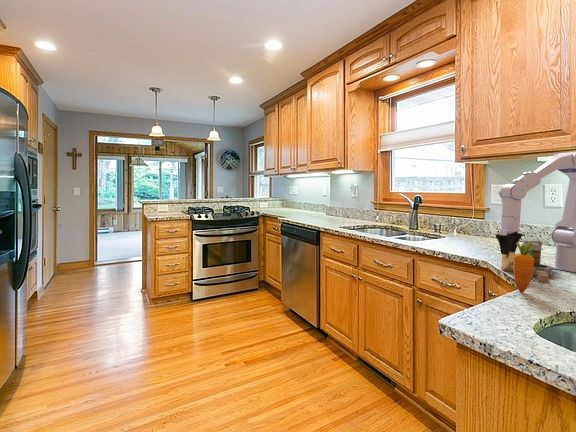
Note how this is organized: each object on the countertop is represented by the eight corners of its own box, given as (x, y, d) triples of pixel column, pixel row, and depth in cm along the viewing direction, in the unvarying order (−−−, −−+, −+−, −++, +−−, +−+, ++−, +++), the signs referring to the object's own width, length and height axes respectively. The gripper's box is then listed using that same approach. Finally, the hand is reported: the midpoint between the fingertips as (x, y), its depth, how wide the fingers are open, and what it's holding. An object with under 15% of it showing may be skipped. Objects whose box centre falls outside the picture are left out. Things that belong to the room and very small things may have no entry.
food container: (520, 264, 132) (522, 239, 132) (540, 266, 129) (541, 241, 128) (518, 269, 123) (520, 243, 122) (538, 272, 119) (540, 245, 118)
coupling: (516, 267, 126) (516, 259, 126) (566, 277, 113) (567, 268, 112) (495, 272, 119) (495, 264, 118) (546, 283, 105) (546, 274, 105)
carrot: (507, 289, 98) (510, 240, 96) (524, 290, 98) (527, 240, 96) (518, 295, 93) (521, 243, 92) (536, 295, 93) (540, 243, 91)
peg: (504, 268, 124) (505, 250, 124) (516, 271, 121) (517, 252, 120) (498, 270, 122) (499, 251, 122) (510, 272, 119) (511, 253, 118)
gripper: (504, 214, 127) (502, 249, 129) (491, 216, 118) (489, 253, 119) (526, 216, 122) (524, 252, 123) (514, 218, 113) (511, 256, 114)
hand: (508, 253), depth 121 cm, fingers open, 7 cm apart
